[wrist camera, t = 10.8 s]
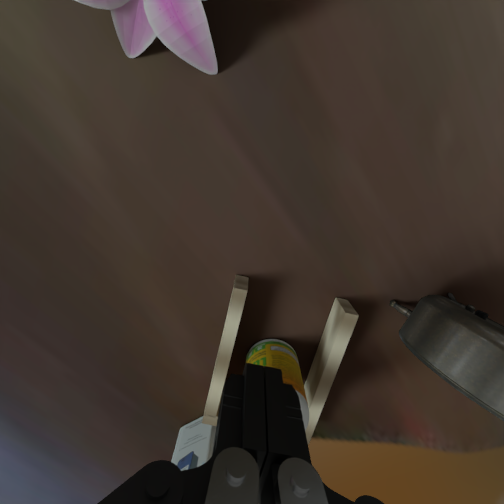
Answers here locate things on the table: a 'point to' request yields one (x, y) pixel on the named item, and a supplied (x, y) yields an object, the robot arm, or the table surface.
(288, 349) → the supplement bottle
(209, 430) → the ink box
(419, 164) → the table surface
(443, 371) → the alarm clock
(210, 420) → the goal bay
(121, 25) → the lily
